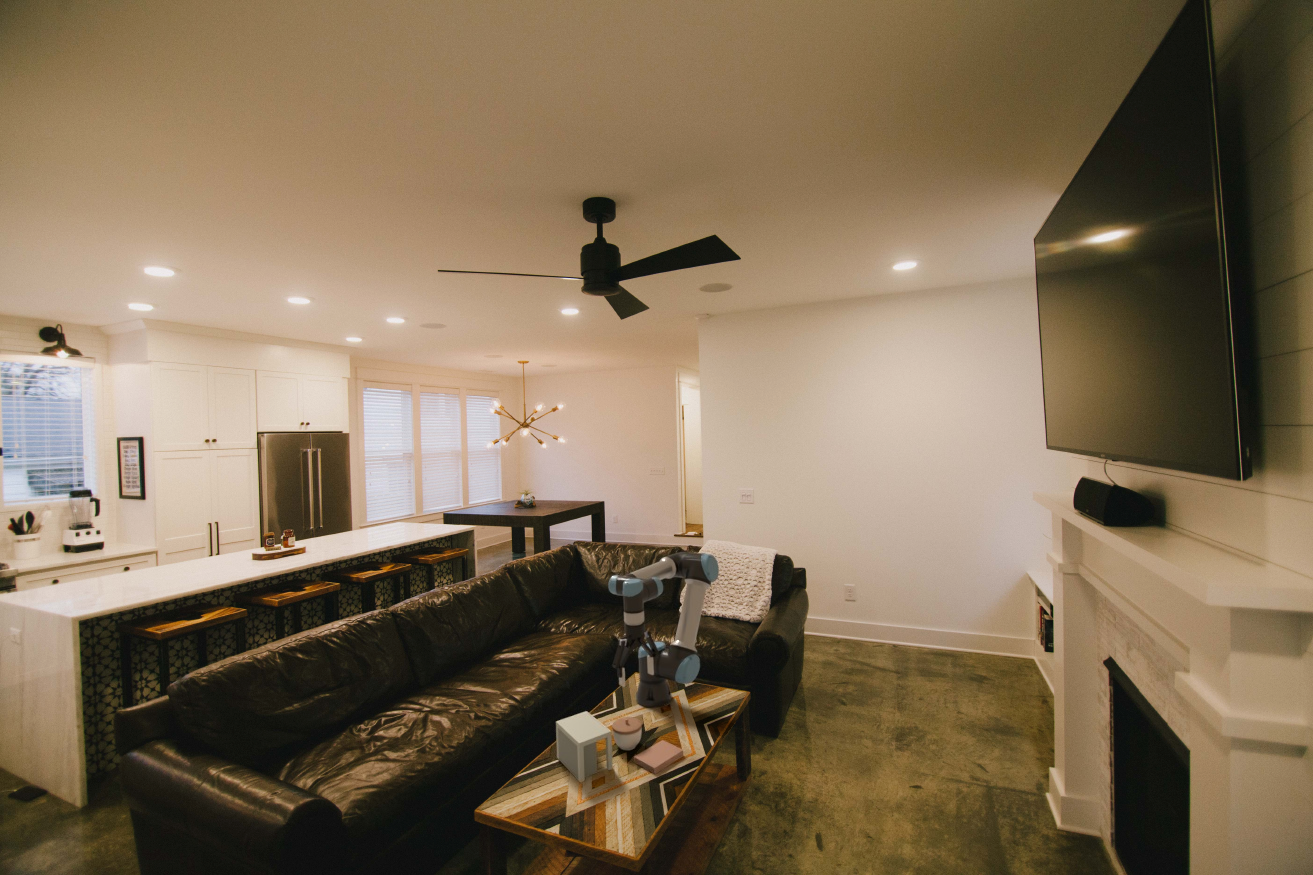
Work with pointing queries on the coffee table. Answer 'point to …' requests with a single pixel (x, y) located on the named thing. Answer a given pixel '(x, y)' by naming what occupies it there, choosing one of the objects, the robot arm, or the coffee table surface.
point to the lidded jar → (627, 732)
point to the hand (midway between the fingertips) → (636, 679)
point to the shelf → (582, 744)
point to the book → (658, 756)
